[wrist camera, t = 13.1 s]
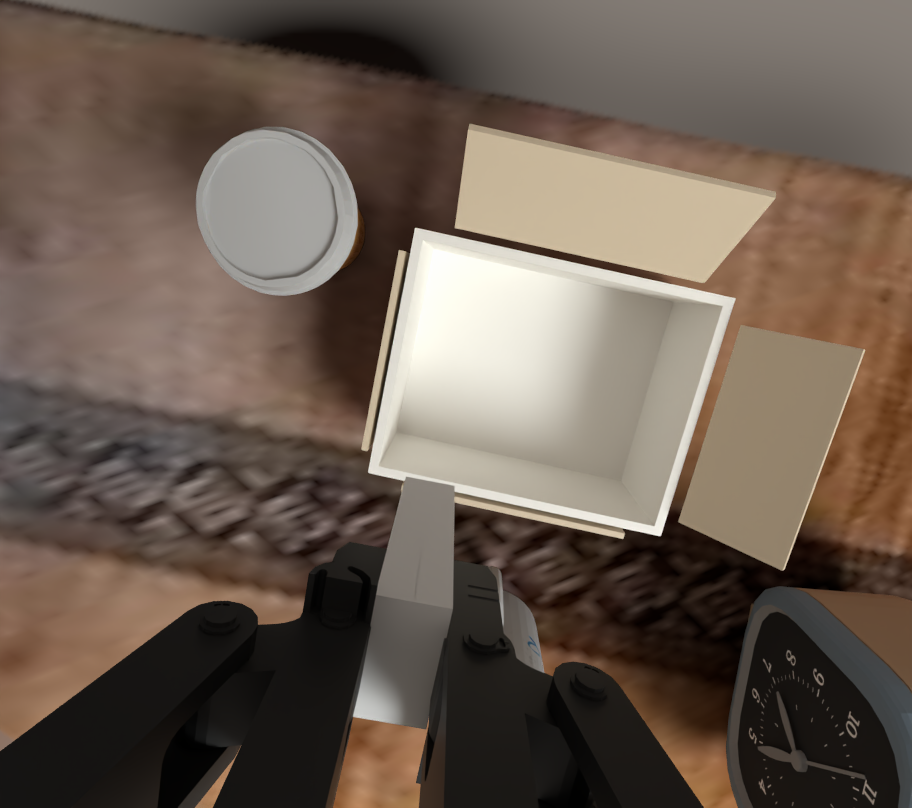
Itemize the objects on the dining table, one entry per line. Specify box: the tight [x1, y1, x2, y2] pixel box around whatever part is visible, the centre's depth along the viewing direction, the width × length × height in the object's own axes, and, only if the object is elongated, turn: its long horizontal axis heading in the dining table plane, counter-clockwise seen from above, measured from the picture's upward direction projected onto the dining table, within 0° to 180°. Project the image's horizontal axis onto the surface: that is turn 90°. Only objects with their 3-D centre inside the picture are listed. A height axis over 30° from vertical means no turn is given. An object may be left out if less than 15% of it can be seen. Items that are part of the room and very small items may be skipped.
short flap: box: [678, 325, 865, 571], centre depth 34 cm, size 6×13×1 cm
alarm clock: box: [726, 586, 912, 808], centre depth 40 cm, size 21×10×22 cm, turn 176°
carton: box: [361, 228, 735, 539], centre depth 41 cm, size 21×17×10 cm
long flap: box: [455, 124, 776, 283], centre depth 31 cm, size 15×7×1 cm
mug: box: [488, 566, 544, 673], centre depth 45 cm, size 12×9×10 cm
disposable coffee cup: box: [196, 127, 365, 296], centre depth 38 cm, size 10×10×12 cm
